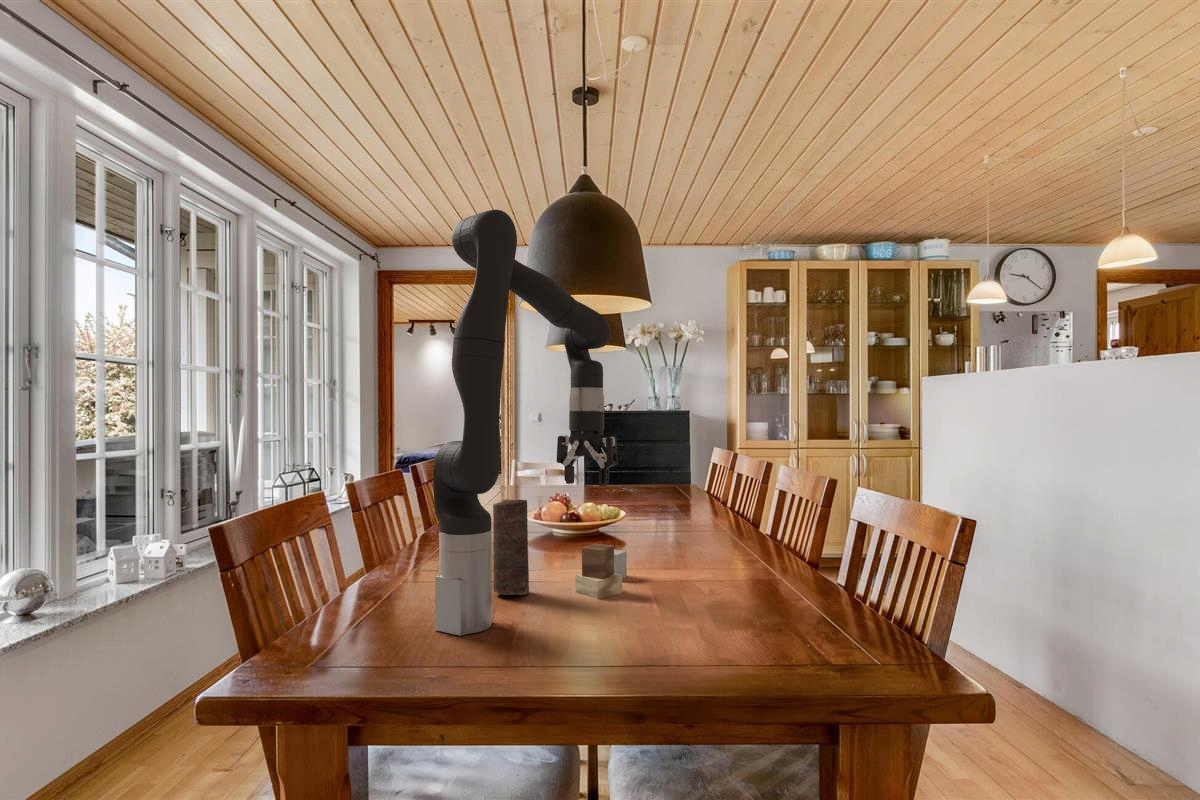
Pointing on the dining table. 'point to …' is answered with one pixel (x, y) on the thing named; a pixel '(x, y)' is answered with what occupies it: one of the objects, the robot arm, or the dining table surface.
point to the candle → (510, 547)
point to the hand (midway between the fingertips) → (586, 484)
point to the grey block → (620, 563)
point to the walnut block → (598, 561)
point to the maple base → (599, 586)
